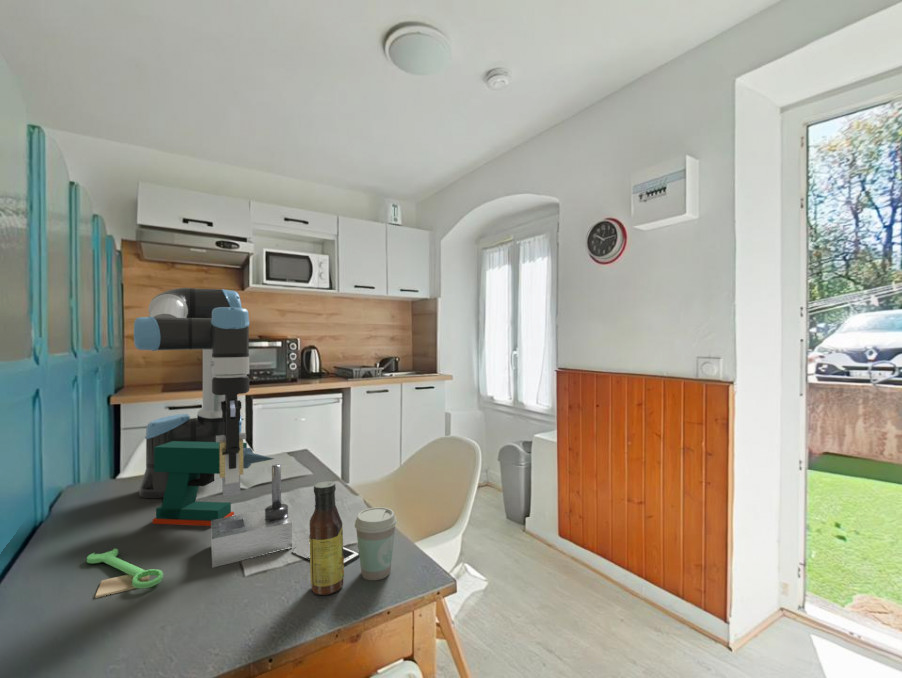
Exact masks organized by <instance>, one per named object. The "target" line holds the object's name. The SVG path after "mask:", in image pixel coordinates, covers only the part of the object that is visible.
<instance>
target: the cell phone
mask: <svg viewBox="0 0 902 678" xmlns="http://www.w3.org/2000/svg"><path fill="white" fill-rule="evenodd" d="M295 548H296V547H294V548H293V549H295ZM293 549H292V550H293ZM293 551H294V550H293ZM343 557H344V567H345V566H347V565H349V564H351V563H353V562H354V561H356V560H358V559H360V556H359V551H356V550H353V549H351V548H349V547H346V546H344V545H343ZM308 559H309V560H310V557H308ZM309 560H308V561H309Z"/></svg>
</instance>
